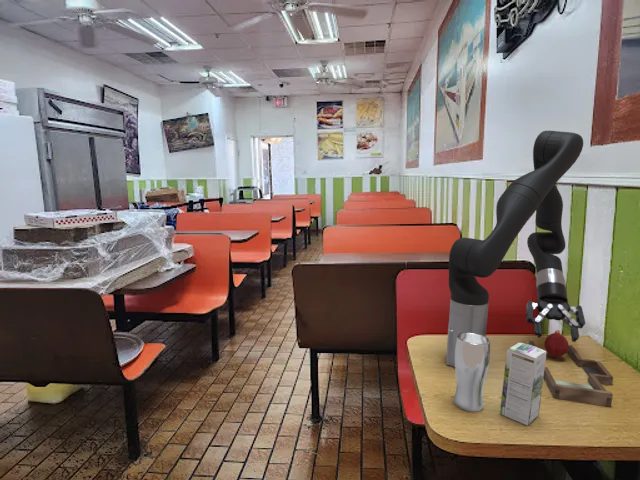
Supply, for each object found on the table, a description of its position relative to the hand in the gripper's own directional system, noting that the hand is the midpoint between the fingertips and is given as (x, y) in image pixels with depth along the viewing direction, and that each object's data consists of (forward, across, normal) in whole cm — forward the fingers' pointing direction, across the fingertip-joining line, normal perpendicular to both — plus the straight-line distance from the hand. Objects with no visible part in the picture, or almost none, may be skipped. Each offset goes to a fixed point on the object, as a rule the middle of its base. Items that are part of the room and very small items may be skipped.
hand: (557, 338), depth 111 cm
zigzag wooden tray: (+10, 0, -2) cm, 11 cm away
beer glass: (+27, -24, -19) cm, 41 cm away
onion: (+4, 0, +4) cm, 6 cm away
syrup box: (+28, -14, -20) cm, 37 cm away
